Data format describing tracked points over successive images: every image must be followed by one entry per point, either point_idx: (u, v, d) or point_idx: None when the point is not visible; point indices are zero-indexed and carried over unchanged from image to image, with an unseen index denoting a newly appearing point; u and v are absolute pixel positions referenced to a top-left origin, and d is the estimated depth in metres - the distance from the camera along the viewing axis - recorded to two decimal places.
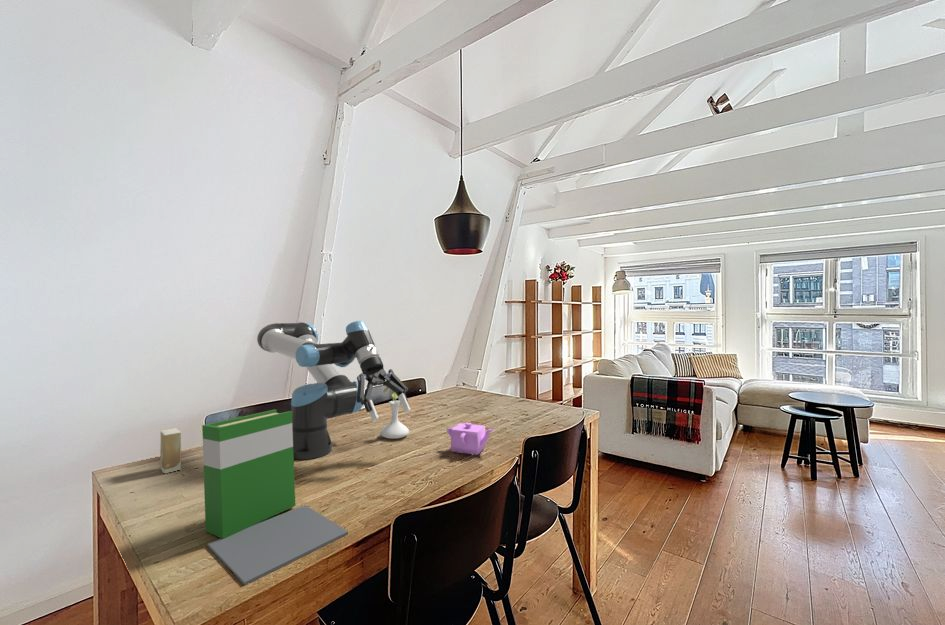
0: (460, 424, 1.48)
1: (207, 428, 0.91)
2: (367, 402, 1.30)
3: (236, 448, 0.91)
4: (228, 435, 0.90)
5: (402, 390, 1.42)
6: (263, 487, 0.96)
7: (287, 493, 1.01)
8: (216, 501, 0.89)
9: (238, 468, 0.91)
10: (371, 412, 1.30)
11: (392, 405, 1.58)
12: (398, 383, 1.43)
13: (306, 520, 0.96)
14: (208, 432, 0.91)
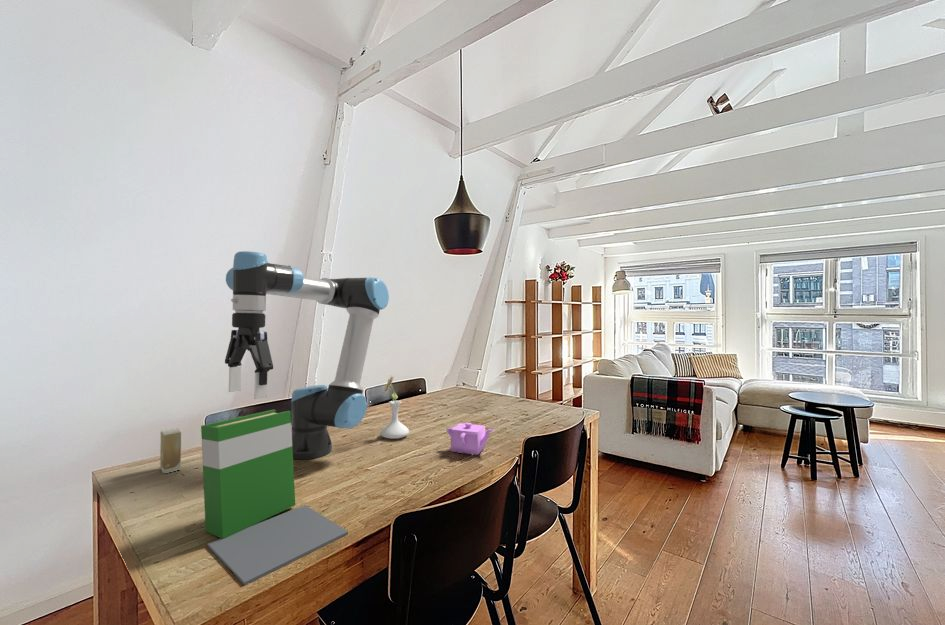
0: (460, 424, 1.48)
1: (206, 428, 0.91)
2: None
3: (235, 448, 0.91)
4: (227, 435, 0.90)
5: (257, 368, 0.98)
6: (263, 487, 0.96)
7: (287, 493, 1.01)
8: (215, 501, 0.89)
9: (237, 467, 0.91)
10: None
11: (392, 405, 1.58)
12: None
13: (306, 520, 0.96)
14: (207, 432, 0.91)
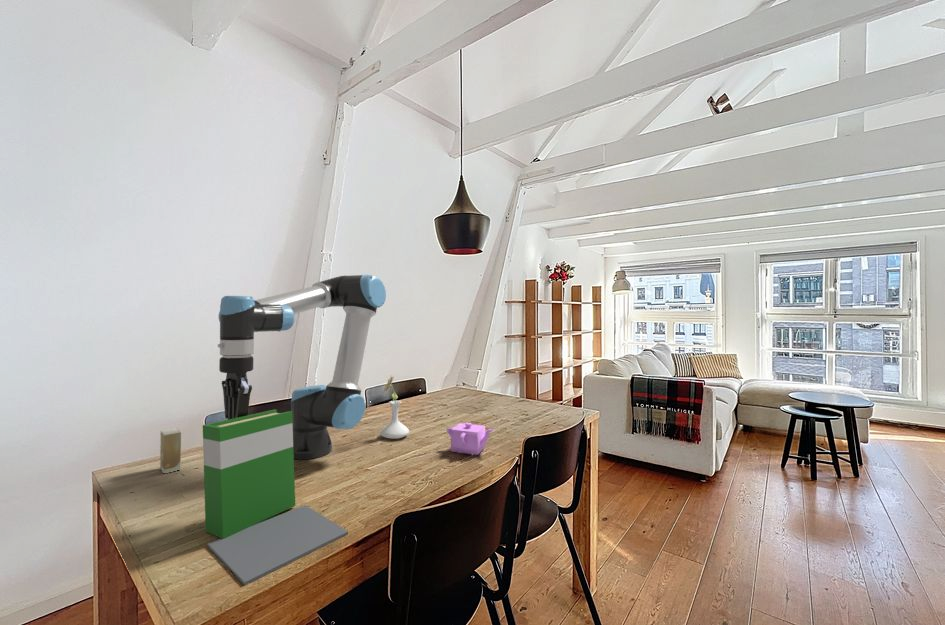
0: (460, 424, 1.48)
1: (207, 428, 0.91)
2: None
3: (236, 448, 0.91)
4: (228, 435, 0.90)
5: None
6: (263, 487, 0.96)
7: (287, 493, 1.01)
8: (216, 501, 0.89)
9: (238, 468, 0.91)
10: None
11: (392, 405, 1.58)
12: None
13: (306, 520, 0.96)
14: (208, 432, 0.91)
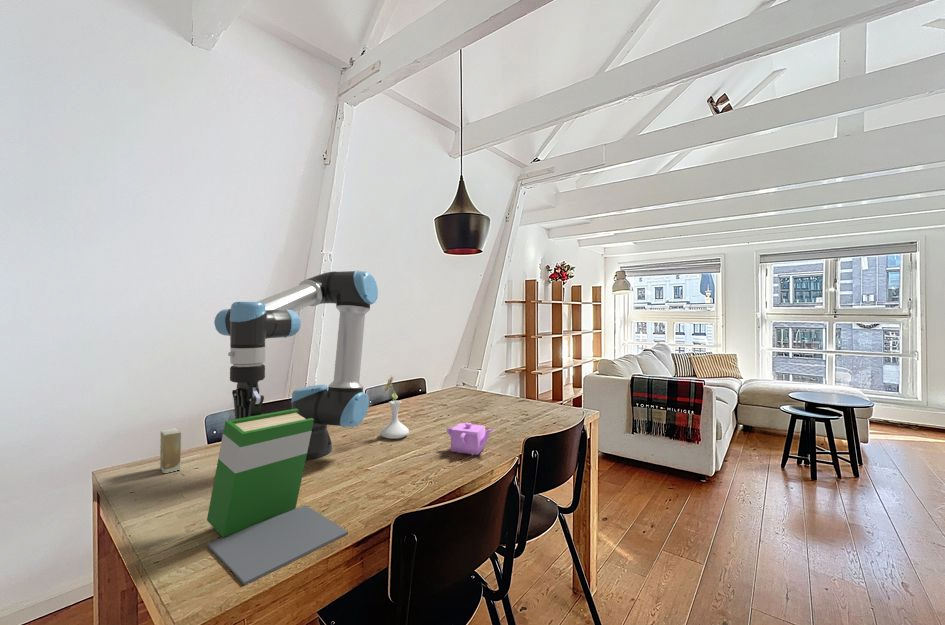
0: (460, 424, 1.48)
1: (230, 427, 0.88)
2: None
3: (254, 454, 0.89)
4: (249, 441, 0.87)
5: None
6: (270, 490, 0.95)
7: (291, 496, 1.01)
8: (223, 499, 0.88)
9: (252, 472, 0.90)
10: None
11: (392, 405, 1.58)
12: None
13: (306, 520, 0.96)
14: (230, 431, 0.88)
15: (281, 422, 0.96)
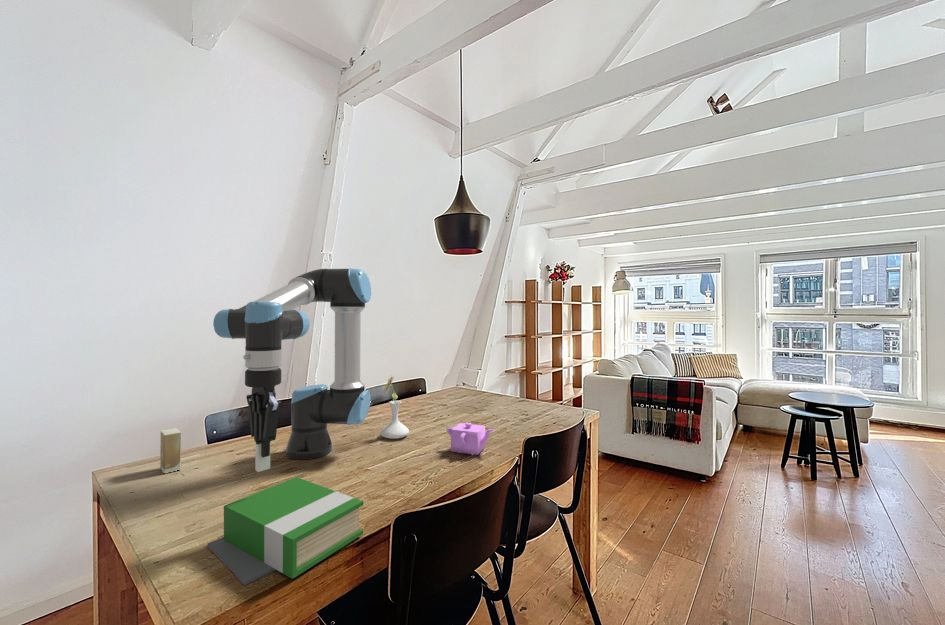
0: (460, 424, 1.48)
1: (290, 551, 0.75)
2: None
3: None
4: None
5: (259, 438, 0.92)
6: None
7: None
8: (243, 539, 0.84)
9: None
10: None
11: (392, 405, 1.58)
12: None
13: None
14: (288, 551, 0.76)
15: (336, 534, 0.85)
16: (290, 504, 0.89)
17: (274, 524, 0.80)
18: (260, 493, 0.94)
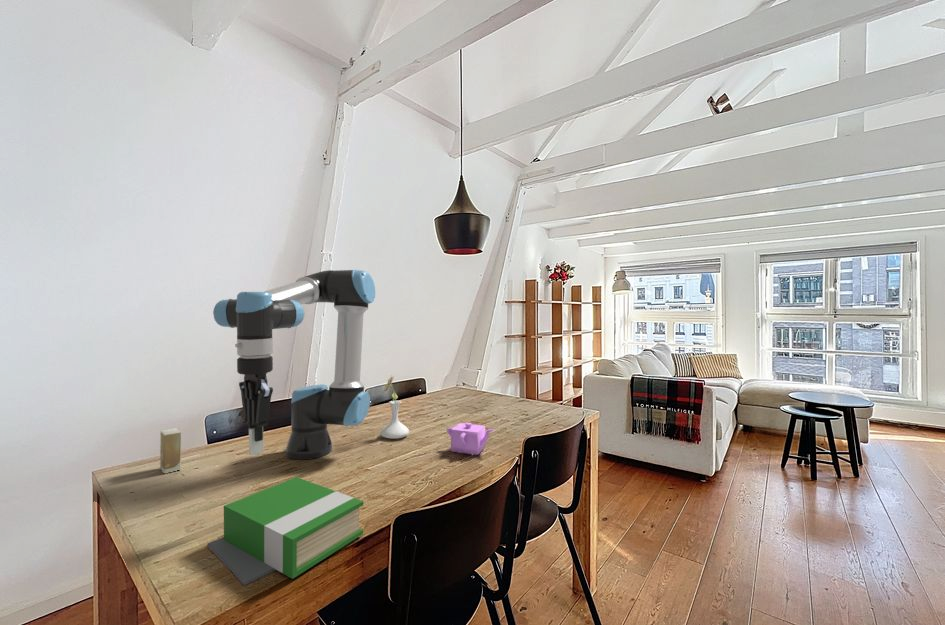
0: (460, 424, 1.48)
1: (290, 551, 0.75)
2: None
3: None
4: None
5: (252, 423, 0.95)
6: None
7: None
8: (243, 539, 0.84)
9: None
10: None
11: (392, 405, 1.58)
12: None
13: None
14: (288, 551, 0.76)
15: (336, 534, 0.85)
16: (290, 504, 0.89)
17: (274, 524, 0.80)
18: (260, 493, 0.94)
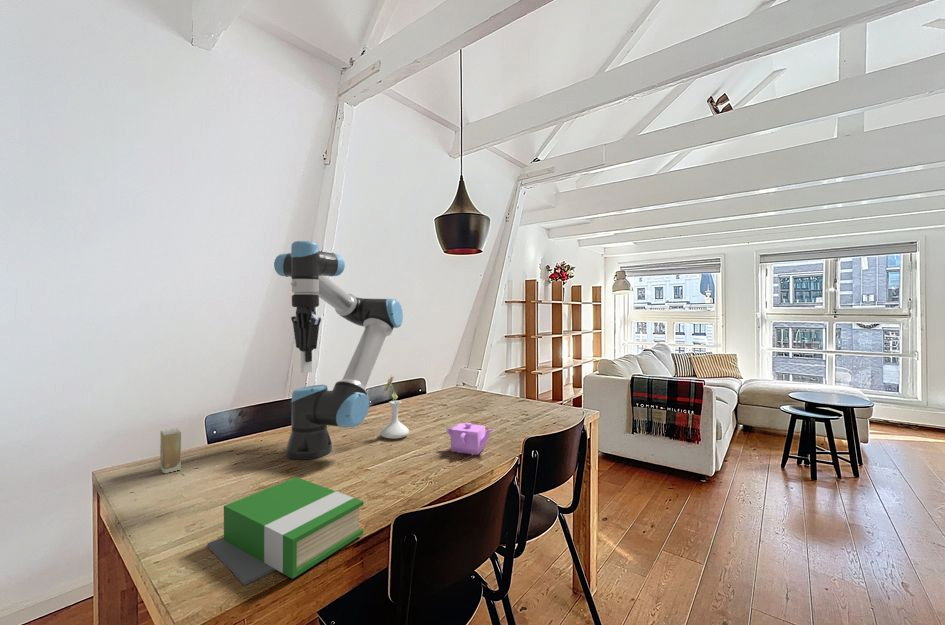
0: (460, 424, 1.48)
1: (290, 551, 0.75)
2: None
3: None
4: None
5: (304, 347, 1.19)
6: None
7: None
8: (243, 539, 0.84)
9: None
10: None
11: (392, 405, 1.58)
12: None
13: None
14: (288, 551, 0.76)
15: (336, 534, 0.85)
16: (290, 504, 0.89)
17: (274, 524, 0.80)
18: (260, 493, 0.94)
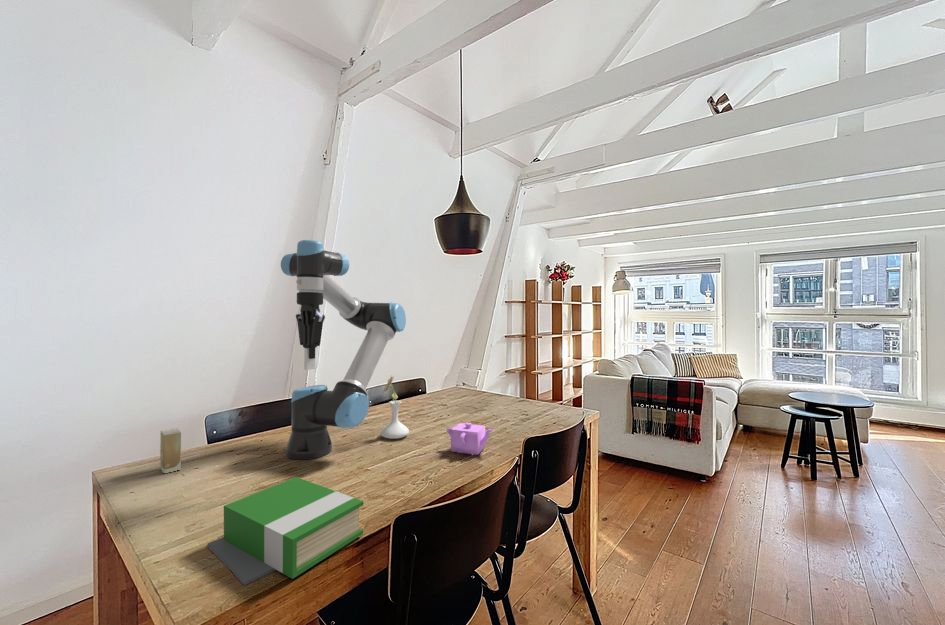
0: (460, 424, 1.48)
1: (290, 551, 0.75)
2: None
3: None
4: None
5: (308, 344, 1.21)
6: None
7: None
8: (243, 539, 0.84)
9: None
10: None
11: (392, 405, 1.58)
12: None
13: None
14: (288, 551, 0.76)
15: (336, 534, 0.85)
16: (290, 504, 0.89)
17: (274, 524, 0.80)
18: (260, 493, 0.94)
